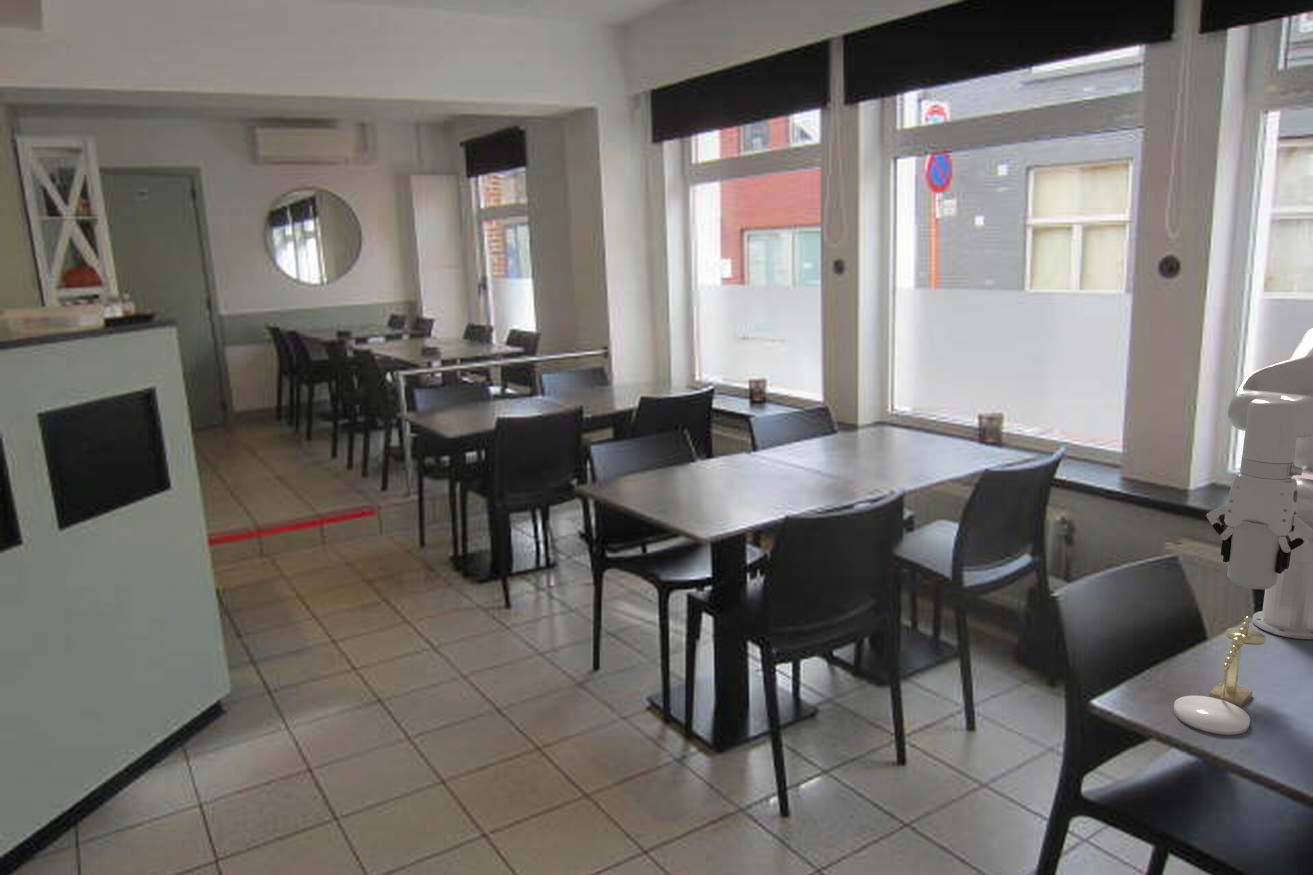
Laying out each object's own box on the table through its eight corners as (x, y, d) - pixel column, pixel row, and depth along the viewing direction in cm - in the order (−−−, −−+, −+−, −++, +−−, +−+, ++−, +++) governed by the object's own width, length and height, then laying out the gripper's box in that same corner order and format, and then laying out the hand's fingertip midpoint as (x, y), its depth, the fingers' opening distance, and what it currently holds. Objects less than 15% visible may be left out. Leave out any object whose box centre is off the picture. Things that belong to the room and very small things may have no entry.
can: (1283, 592, 160) (1293, 526, 158) (1236, 589, 162) (1244, 523, 159) (1265, 577, 167) (1273, 514, 165) (1219, 575, 169) (1227, 512, 166)
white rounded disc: (1186, 695, 164) (1187, 689, 163) (1257, 717, 156) (1258, 711, 156) (1163, 717, 156) (1164, 711, 156) (1237, 742, 148) (1238, 735, 148)
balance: (1226, 676, 170) (1234, 607, 168) (1263, 687, 166) (1272, 616, 163) (1201, 701, 162) (1209, 629, 159) (1239, 713, 157) (1249, 639, 154)
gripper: (1331, 474, 157) (1317, 573, 160) (1217, 458, 169) (1206, 550, 173) (1320, 481, 152) (1305, 583, 155) (1203, 464, 164) (1192, 559, 168)
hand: (1253, 565), depth 164 cm, fingers closed on can, 7 cm apart
